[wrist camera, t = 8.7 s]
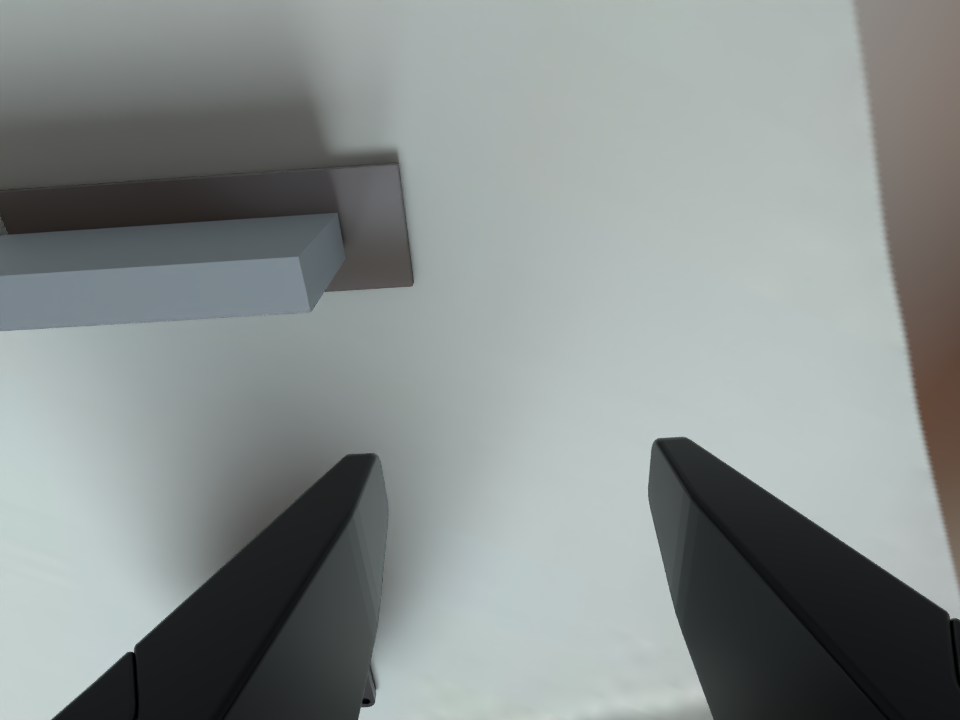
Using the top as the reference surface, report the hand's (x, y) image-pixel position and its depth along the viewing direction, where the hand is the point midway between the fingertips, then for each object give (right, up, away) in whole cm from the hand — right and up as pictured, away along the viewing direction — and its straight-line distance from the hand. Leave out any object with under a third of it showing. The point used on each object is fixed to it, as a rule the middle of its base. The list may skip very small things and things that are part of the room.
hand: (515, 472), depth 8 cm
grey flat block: (-11, +5, +12) cm, 17 cm away
